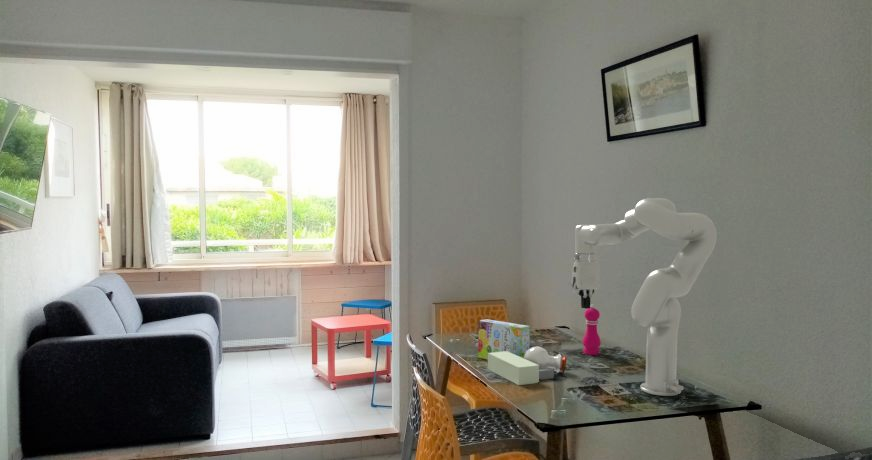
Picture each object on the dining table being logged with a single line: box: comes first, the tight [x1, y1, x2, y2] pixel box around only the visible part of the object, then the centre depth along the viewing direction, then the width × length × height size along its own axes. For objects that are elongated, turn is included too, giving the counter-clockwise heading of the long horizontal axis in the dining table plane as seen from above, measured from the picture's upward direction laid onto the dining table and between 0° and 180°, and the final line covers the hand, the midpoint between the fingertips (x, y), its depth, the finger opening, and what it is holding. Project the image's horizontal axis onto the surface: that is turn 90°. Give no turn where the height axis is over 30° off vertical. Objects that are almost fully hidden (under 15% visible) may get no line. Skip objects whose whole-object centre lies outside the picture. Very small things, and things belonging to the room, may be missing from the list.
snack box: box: [477, 319, 531, 361], centre depth 245 cm, size 21×6×15 cm, turn 47°
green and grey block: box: [487, 351, 555, 386], centre depth 227 cm, size 22×16×6 cm
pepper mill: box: [582, 303, 602, 356], centre depth 259 cm, size 7×7×20 cm
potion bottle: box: [523, 345, 567, 374], centre depth 230 cm, size 9×10×15 cm
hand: (585, 307), depth 234 cm, fingers closed
